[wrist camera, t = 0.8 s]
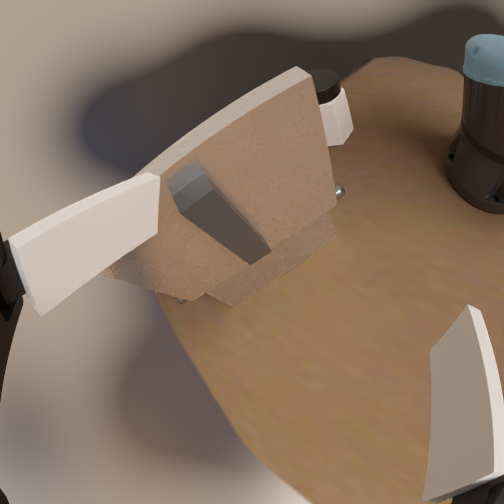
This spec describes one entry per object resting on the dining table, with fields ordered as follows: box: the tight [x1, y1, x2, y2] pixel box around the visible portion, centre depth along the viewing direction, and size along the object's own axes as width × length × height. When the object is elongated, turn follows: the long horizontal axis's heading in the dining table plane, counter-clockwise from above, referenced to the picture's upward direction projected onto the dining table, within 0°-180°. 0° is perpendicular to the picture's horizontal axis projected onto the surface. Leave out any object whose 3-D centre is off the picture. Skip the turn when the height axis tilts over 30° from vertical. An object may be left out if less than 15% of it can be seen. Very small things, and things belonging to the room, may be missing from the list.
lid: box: [99, 66, 337, 301], centre depth 22 cm, size 17×19×3 cm
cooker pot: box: [175, 183, 346, 307], centre depth 38 cm, size 18×23×11 cm
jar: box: [305, 69, 354, 146], centre depth 42 cm, size 9×8×12 cm
